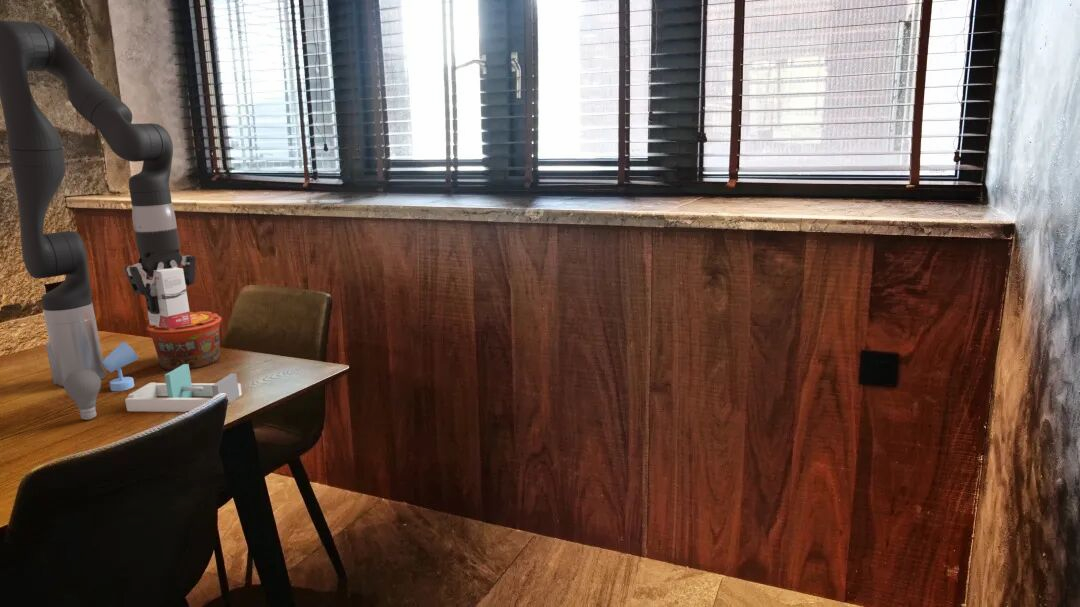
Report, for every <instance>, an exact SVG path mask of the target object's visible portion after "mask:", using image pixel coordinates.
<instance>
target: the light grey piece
mask: <svg viewBox="0 0 1080 607" xmlns="http://www.w3.org/2000/svg"><path fill="white" fill-rule="evenodd" d="M237 376H238V375H237V373H231V372H230V373H229V374H228V375H226V376H225V377H223V378H221V379H220V380H218V381H217V382H215V383H214V382H212V383H210V382H209V383H206V382H205V383H204V382H203V383H200V382H197V383H196V382H195V383H193V382H191V383H192V387H203V391H193V396H192V397H190V398H168V393H167V387H166V382H165V383H164V382H149V383H147V384H145V385H144V386H141V387H140V388H138V389H137V390H135V391H133V392H131V393H129V394H128V395H127V397H126V398H125V399H124V401H125V406H126V411H127V412H171V413H172V412H173V413H174V412H175V413H176V412H182V413H183V412H186V411H189V410H191V409H193V408H195V407H197V406H199V405H201V404H202V403H204V402H205V401H207V400H209V399H210V398H211V397H212V398H213V397H214V396H215V395H217V394H219V393H226V394H227V395H228V397H229V401H230V404H231V403H233V402H234V401H235V400H237V399H238V398H239V397H241V396H242V394H243V393H242V384H241V383H239V382H238V377H237Z"/></svg>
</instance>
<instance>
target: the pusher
mask: <svg viewBox="0 0 1080 607" xmlns="http://www.w3.org/2000/svg"><path fill="white" fill-rule="evenodd" d="M190 370H191V369H190ZM190 370H189V364H183V365H182V366H180V367H178V368H176V369H174V370H170V371H169V372H167V373H165V374H164V379H165V380H164V381H165V383H166V387H167V393H168V396H167V398H193V397H194V396H193V391H203V387H192V383H193V382H192V377H191V371H190Z"/></svg>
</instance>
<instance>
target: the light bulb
mask: <svg viewBox="0 0 1080 607" xmlns="http://www.w3.org/2000/svg"><path fill="white" fill-rule="evenodd" d="M101 387H102V380H100V377H99V376H98V375H97V374H96V373H95V372H94V371H92V370H90V369H78V370H75V371H73V372H71V373H70V374H69V375H68V376H67V378H66V379H65V382H64V387H63V389H64V391H65V394H67V396H69V397H70V399H72V400H73V402H74V403H75V404H76V405H75V406H76V407H77V408H78V409H79V414H80V419H82V420H86V421H89V420H92V419H94V418H95V417H96V416H97V411H96V410H97V409H96V405H97V396H98V394H99V392H100V389H101Z"/></svg>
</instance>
